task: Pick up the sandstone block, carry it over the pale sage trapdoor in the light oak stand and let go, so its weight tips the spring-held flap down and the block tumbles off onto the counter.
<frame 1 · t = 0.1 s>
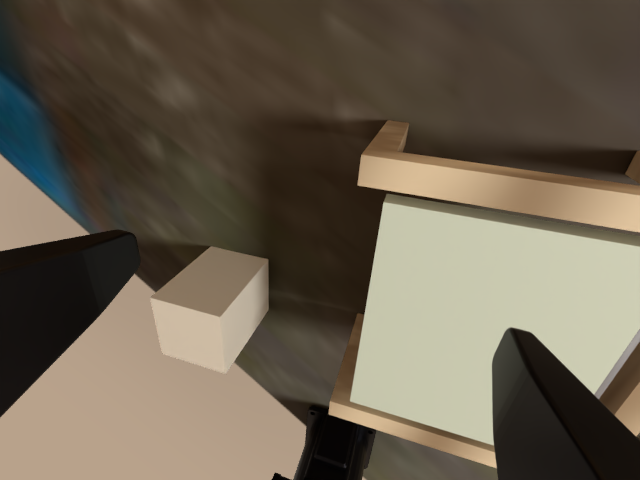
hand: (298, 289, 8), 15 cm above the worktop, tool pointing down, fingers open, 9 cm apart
stone block: (240, 278, 29), on the worktop
trapdoor: (480, 341, 16), point 8 cm above the worktop, hinge at 0.0°
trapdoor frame: (463, 257, 22), on the worktop
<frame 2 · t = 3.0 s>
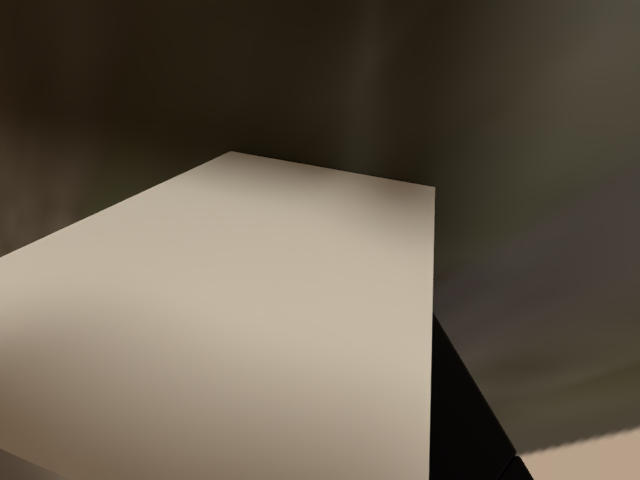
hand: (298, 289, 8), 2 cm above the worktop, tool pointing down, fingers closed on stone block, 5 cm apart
stone block: (317, 257, 9), on the worktop, touching gripper
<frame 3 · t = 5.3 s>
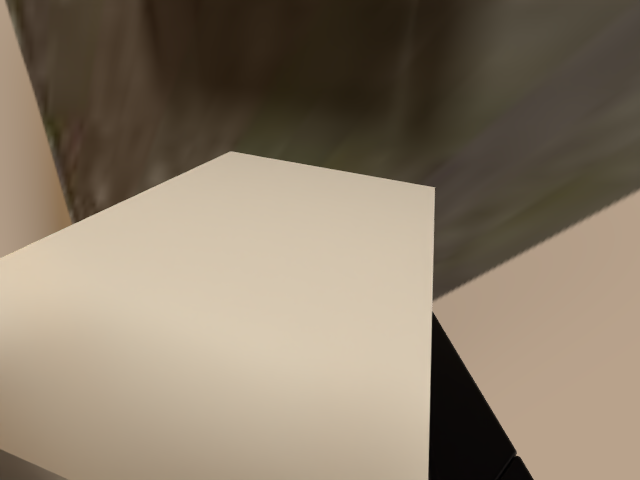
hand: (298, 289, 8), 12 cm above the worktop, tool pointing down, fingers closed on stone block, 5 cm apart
stone block: (317, 257, 9), point 10 cm above the worktop, touching gripper
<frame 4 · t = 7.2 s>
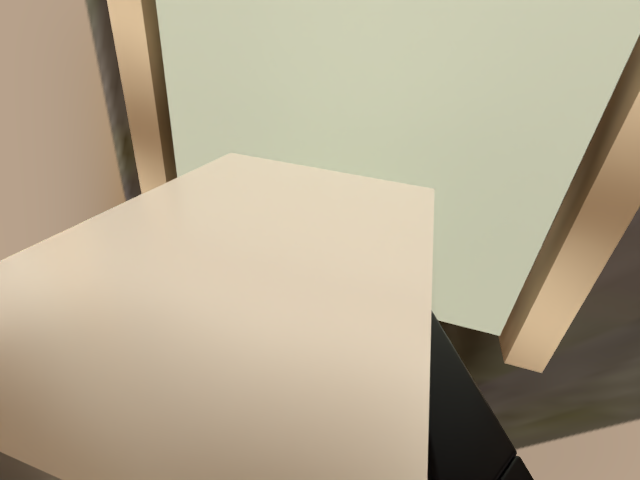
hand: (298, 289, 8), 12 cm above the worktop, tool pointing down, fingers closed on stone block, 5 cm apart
stone block: (317, 258, 9), point 10 cm above the worktop, touching gripper
trapdoor: (348, 148, 11), point 7 cm above the worktop, hinge at 0.0°
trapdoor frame: (380, 119, 17), on the worktop
when the fingers open (12 cm above the worktop, at t = 7.8 s): stone block drops 6 cm, resting on trapdoor.
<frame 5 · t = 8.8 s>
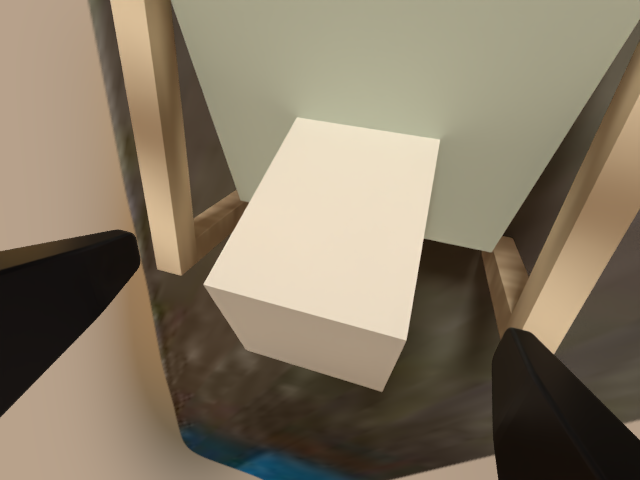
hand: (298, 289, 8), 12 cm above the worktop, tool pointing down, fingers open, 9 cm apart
stone block: (361, 180, 14), point 5 cm above the worktop, tilted 26°, touching trapdoor
trapdoor: (364, 122, 12), point 5 cm above the worktop, hinge at -26.0°, touching stone block
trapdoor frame: (382, 119, 17), on the worktop
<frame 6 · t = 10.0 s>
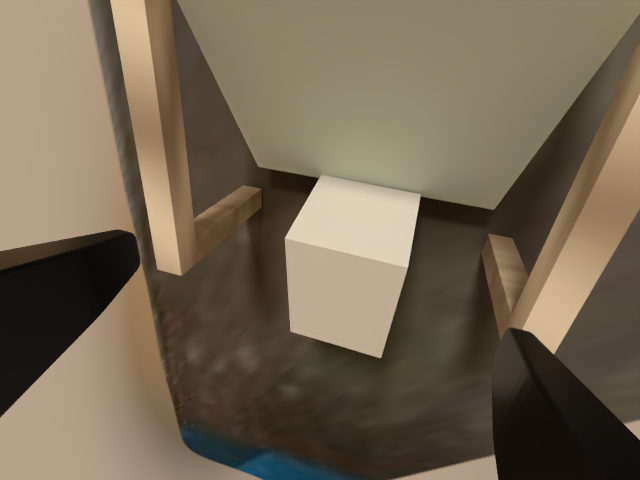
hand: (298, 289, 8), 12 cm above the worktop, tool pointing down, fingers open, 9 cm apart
stone block: (358, 214, 15), point 4 cm above the worktop, tilted 104°, touching trapdoor
trapdoor: (371, 101, 13), point 4 cm above the worktop, hinge at -39.7°, touching stone block
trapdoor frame: (382, 119, 17), on the worktop
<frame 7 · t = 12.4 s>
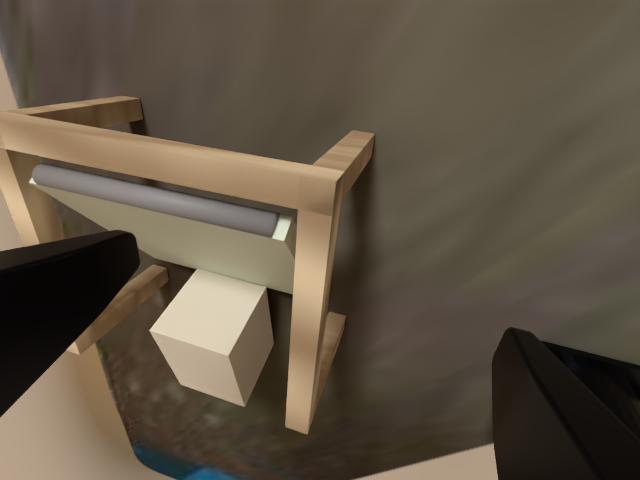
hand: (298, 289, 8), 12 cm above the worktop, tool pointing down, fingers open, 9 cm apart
stone block: (211, 307, 21), point 4 cm above the worktop, tilted 104°, touching trapdoor
trapdoor: (200, 242, 18), point 4 cm above the worktop, hinge at -39.7°, touching stone block
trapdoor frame: (241, 229, 23), on the worktop
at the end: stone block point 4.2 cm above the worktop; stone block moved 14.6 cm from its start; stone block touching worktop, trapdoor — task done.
